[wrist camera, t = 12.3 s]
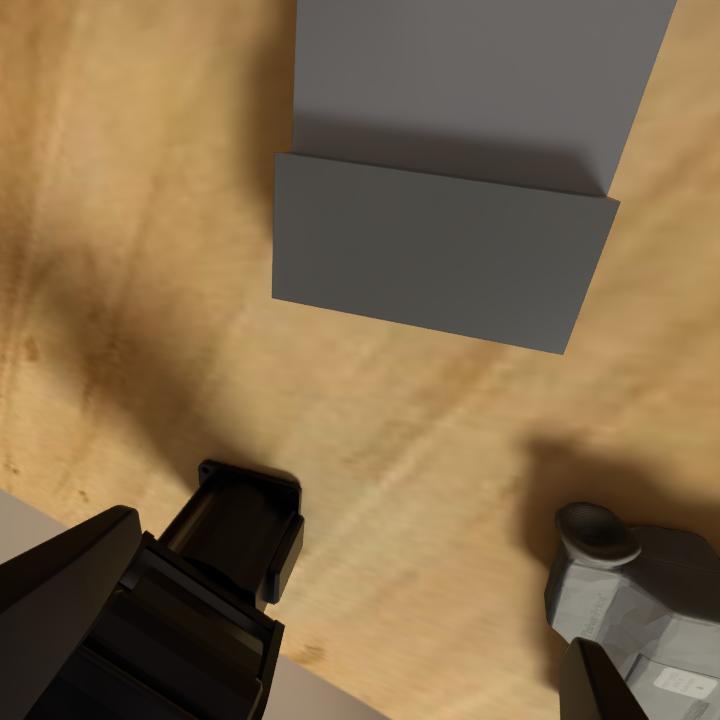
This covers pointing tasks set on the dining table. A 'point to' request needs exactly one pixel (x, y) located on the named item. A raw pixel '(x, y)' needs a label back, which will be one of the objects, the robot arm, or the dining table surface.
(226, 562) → the robot arm
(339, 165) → the grey stepped base
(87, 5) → the dining table surface
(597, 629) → the camcorder
